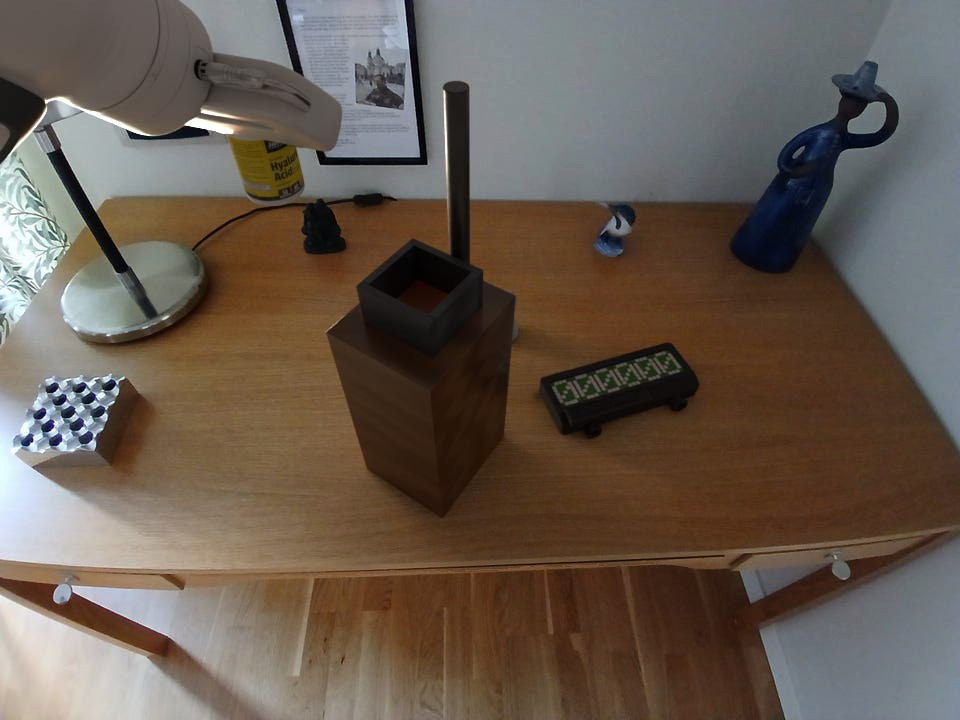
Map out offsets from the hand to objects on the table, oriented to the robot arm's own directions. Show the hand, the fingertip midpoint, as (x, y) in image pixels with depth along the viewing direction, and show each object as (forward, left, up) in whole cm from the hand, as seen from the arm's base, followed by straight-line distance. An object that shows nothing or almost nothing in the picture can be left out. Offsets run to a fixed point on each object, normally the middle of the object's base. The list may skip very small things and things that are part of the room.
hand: (264, 131), depth 49 cm
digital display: (+37, -11, -39) cm, 55 cm away
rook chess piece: (+25, +5, -39) cm, 47 cm away
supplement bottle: (0, -1, -6) cm, 6 cm away
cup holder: (+10, -13, -39) cm, 42 cm away
